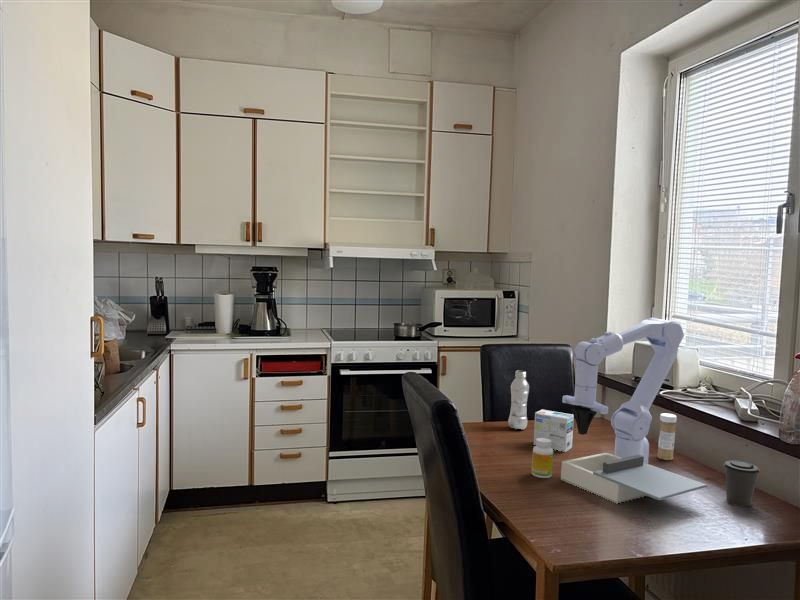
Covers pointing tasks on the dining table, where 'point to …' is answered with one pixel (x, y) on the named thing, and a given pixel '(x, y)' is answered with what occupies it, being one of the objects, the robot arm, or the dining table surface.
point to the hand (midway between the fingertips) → (582, 433)
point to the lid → (647, 478)
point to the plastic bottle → (519, 401)
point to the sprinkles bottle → (666, 436)
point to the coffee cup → (740, 481)
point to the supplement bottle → (542, 458)
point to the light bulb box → (554, 429)
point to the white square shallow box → (596, 478)
